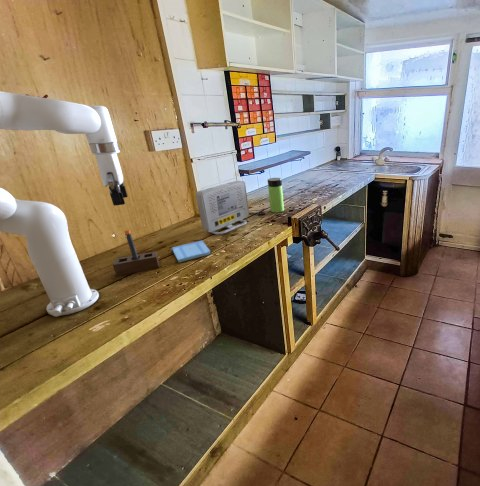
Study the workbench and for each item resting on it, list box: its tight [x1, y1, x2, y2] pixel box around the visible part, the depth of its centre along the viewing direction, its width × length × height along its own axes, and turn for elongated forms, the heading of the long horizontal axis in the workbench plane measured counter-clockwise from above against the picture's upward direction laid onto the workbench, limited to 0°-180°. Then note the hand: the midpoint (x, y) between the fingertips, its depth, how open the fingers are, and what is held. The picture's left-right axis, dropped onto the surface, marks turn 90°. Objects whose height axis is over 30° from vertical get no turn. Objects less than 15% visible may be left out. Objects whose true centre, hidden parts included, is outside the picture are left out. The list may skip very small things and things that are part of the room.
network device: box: [195, 179, 250, 235], centre depth 146 cm, size 26×9×20 cm, turn 148°
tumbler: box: [267, 177, 285, 213], centre depth 167 cm, size 8×8×17 cm
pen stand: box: [112, 250, 160, 277], centre depth 112 cm, size 5×13×4 cm, turn 114°
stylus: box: [124, 229, 138, 260], centre depth 110 cm, size 2×2×15 cm
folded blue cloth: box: [171, 240, 211, 263], centre depth 124 cm, size 14×12×1 cm
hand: (121, 201), depth 105 cm, fingers open, 9 cm apart
